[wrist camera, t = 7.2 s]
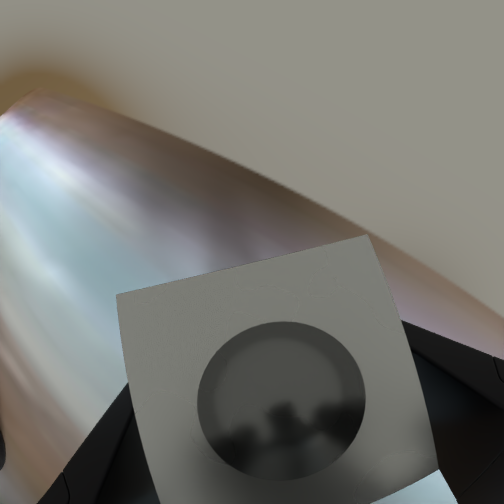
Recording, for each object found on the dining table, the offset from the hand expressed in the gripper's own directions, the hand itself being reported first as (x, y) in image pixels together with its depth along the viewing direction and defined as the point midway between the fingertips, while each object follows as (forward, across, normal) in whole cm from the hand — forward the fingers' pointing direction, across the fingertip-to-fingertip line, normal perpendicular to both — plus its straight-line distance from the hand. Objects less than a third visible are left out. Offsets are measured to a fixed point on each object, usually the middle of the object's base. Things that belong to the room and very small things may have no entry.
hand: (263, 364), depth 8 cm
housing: (+5, 0, +6) cm, 8 cm away
